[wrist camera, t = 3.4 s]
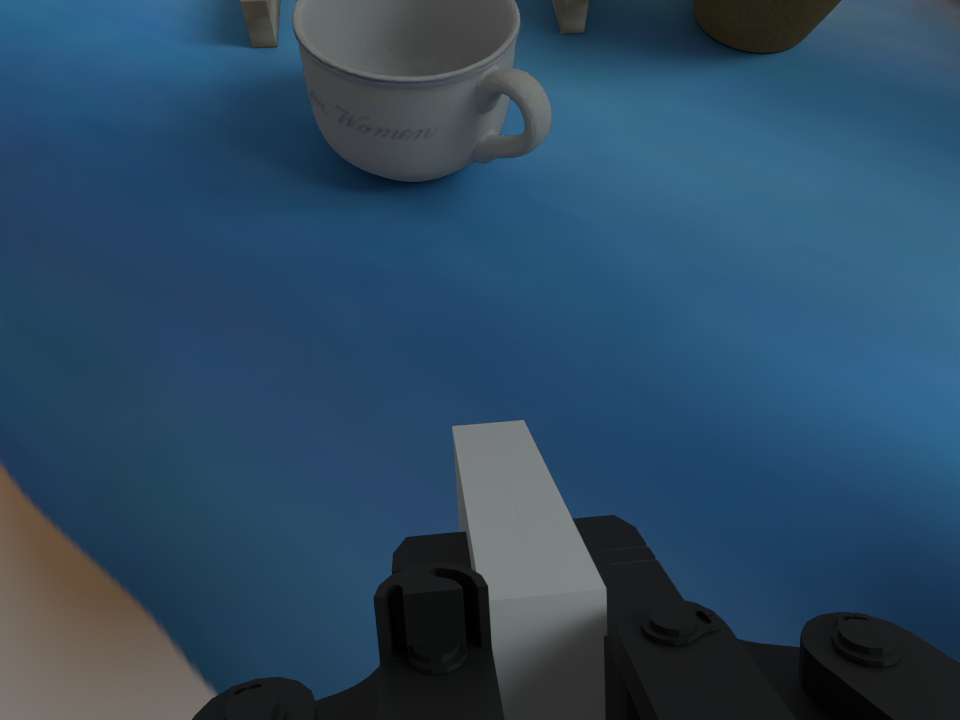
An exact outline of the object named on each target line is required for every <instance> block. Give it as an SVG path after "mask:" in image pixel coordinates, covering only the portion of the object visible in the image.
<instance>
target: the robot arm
mask: <svg viewBox="0 0 960 720" xmlns="http://www.w3.org/2000/svg"><path fill="white" fill-rule="evenodd" d="M452 431H453V445H454V459H455V473H456V487H457V502H458V516H459V530H460V532H454V533H444V534H434V535H423V536H413V537H406V538H405V539H404V541H403V542H402V543H401V544H400V546H399V547H398V548H397V549H396V551H395V552H394V553H393V563H392V575H391V576H390V577H389V578H387V579H386V580H385V581H384V582H383V583H381V584H380V585H379V587H378V589H377V591H376V593H375V596H374V607H375V616H376V626H377V636H378V645H379V655H380V666H379V667H378V668H377V669H376V670H375V671H374V672H373V673H372V674H371V675H370V676H369V677H368V678H366V679H365V680H363V681H362V682H360V683H358V684H357V685H355V686H354V687H351V688H349V689H347V690H344V691H342V692H340V693H337V694H335V695H332V696H329V697H326V698H323V699H320V700H317V701H315V699H314V696H313V694H312V691H311V690H310V689H309V688H307V687H306V686H304V685H303V684H302V683H300V682H299V681H296V680H291V679H286V678H281V677H273V678H261V679H255V680H251V681H248V682H245V683H242V684H239V685H236V686H233V687H231V688H229V689H228V690H226V691H224V692H223V693H221V694H219V695H217V696H216V697H214V698H212V699H211V700H210V701H209V702H208V703H207V704H206V705H205V706H204V707H203V708H202V709H201V710H200V711H199V712H198V713H197V714H196V715H195V716H194V718H193V719H192V720H960V663H958V662H957V661H955V660H953V659H952V658H950V657H949V656H947V655H945V654H944V653H942V652H941V651H939V650H938V649H936V648H934V647H933V646H931V645H930V644H928V643H926V642H925V641H923V640H922V639H920V638H918V637H917V636H915V635H914V634H912V633H910V632H909V631H907V630H905V629H903V628H901V627H899V626H896V625H894V624H892V623H890V622H888V621H885V620H882V619H878V618H875V617H871V616H868V615H866V614H860V613H851V612H838V613H830V614H823V615H819V616H817V617H815V618H813V619H811V620H809V621H808V622H806V624H805V626H804V628H803V630H802V632H801V637H800V647H791V646H781V645H771V644H761V643H755V642H749V641H743V640H739V639H737V638H736V636H735V635H734V634H733V632H732V631H731V629H730V628H729V627H728V625H727V624H726V623H725V622H724V621H723V620H722V619H721V618H720V617H719V616H718V615H717V614H716V613H715V612H713V611H712V610H709V609H707V608H705V607H703V606H701V605H699V604H697V603H694V602H689V601H685V600H684V599H683V598H682V596H681V595H680V593H679V592H678V591H677V589H676V588H675V586H674V585H673V583H672V582H671V580H670V579H669V577H668V576H667V574H666V573H665V571H664V570H663V568H662V567H661V565H660V564H659V562H658V561H656V560H655V556H654V555H653V553H652V552H651V550H650V549H649V547H647V546H646V543H645V541H644V540H643V538H642V537H641V535H640V534H639V532H638V531H637V529H636V528H635V527H634V526H632V525H630V524H629V523H627V522H625V521H624V520H622V519H620V518H619V517H617V516H615V515H609V516H598V517H588V518H577V519H572V517H571V515H570V513H569V511H568V509H567V507H566V505H565V503H564V501H563V499H562V497H561V495H560V493H559V491H558V489H557V487H556V485H555V483H554V481H553V479H552V477H551V475H550V473H549V471H548V469H547V467H546V464H545V462H544V460H543V458H542V456H541V454H540V452H539V450H538V448H537V446H536V444H535V442H534V440H533V438H532V436H531V434H530V432H529V430H528V428H527V426H526V424H525V422H524V420H519V421H508V422H496V423H484V424H472V425H460V426H452Z"/></svg>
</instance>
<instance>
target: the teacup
mask: <svg viewBox="0 0 960 720" xmlns="http://www.w3.org/2000/svg"><path fill="white" fill-rule="evenodd" d="M292 24H293V31H294V34H295V37H296V39H297V41H298V43H299V49H300V55H301V61H302V66H303V71H304V76H305V81H306V86H307V91H308V95H309V99H310V103H311V107H312V111H313V114H314V117H315V120H316V122H317V125H318V127H319V129H320V131H321V133H322V135H323V136H324V138H325V140H326V141H327V143H328V144H329V145H330V146H331V147H332V148H333V149H334V151H335V152H336V153H337V154H339V155H340V156H341V157H342V158H343V159H345V160H346V161H348V162H349V163H351V164H353V165H354V166H356V167H358V168H360V169H362V170H364V171H366V172H369V173H372V174H375V175H378V176H381V177H384V178H388V179H391V180H397V181H405V182H421V181H428V180H433V179H438V178H441V177H443V176H446V175H449V174H451V173H454V172H456V171H458V170H461V169H463V168H465V167H466V166H468V165H470V164H472V163H473V162H478V163H483V164H485V163H489V162H491V161H492V160H494V159H495V158H515V157H519V156H523V155H525V154H528V153H529V152H531V151H532V150H534V149H535V148H537V147H538V146H539V145H540V144H541V143H542V142H543V141H544V139H545V138H546V136H547V134H548V133H549V130H550V126H551V118H552V115H551V107H550V103H549V100H548V97H547V95H546V93H545V91H544V90H543V88H542V86H541V85H540V83H539V82H538V81H537V80H536V79H535V78H533V77H532V76H531V75H530V74H528V73H527V72H525V71H522V70H519V69H513V66H514V56H515V45H516V39H517V37H518V34H519V30H520V25H521V24H520V13H519V9H518V7H517V4H516V2H515V1H514V0H297V1H296V3H295V5H294V9H293V15H292ZM509 98H511V99H512V100H513V101H514V102H515V103H516V104H517V106H518V107H519V108H520V111H521V113H522V116H523V118H524V123H525V130H524V132H523V134H520V135H516V136H504V135H499V133H500V131H501V129H502V126H503V123H504V120H505V117H506V114H507V109H508V104H509Z"/></svg>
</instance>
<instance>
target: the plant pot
mask: <svg viewBox="0 0 960 720" xmlns="http://www.w3.org/2000/svg"><path fill="white" fill-rule="evenodd" d="M840 1H841V0H694V12H695V16H696V20H697V22H698V23H699V25H700V26H701V27H702V28H703V30H704V31H705V32H706V33H707V34H709V35H710V36H711V37H713V38H714V39H716V40H717V41H719V42H721V43H723V44H725V45H728V46H730V47H732V48H736V49H739V50H743V51H748V52H755V53H773V52H779V51H783V50H786V49H789V48H791V47H793V46H795V45H797V44H798V43H799V42H801V41H802V40H803V39H804V38H805V37H806V36H807V35H808V34H809V33H810V32H811V31H812V30H813V29H814V28H815V27H816V26H817V25H818V24H819V23H820V22H821V21H822V20H823V19H824V18H825V17H826V16H827V15H828V14H829V13H830V12H831V11H832V10H833V9H834V8H835V7H836V5H837V4H838V3H839V2H840Z"/></svg>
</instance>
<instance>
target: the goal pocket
mask: <svg viewBox="0 0 960 720" xmlns="http://www.w3.org/2000/svg"><path fill="white" fill-rule="evenodd" d="M552 3H553V6H554V10H555V14H556V17H557V21H558V25H559V28H560V32H561V34H571V33H584V29H585V23H586V17H587V10H588V4H589V0H552ZM240 4H241V8H242V11H243V15H244V18H245V22H246V26H247V29H248V33H249V37H250V40H251V44H252V47H253V48H258V47H277V40H278V26H279V12H280V0H240Z"/></svg>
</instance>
